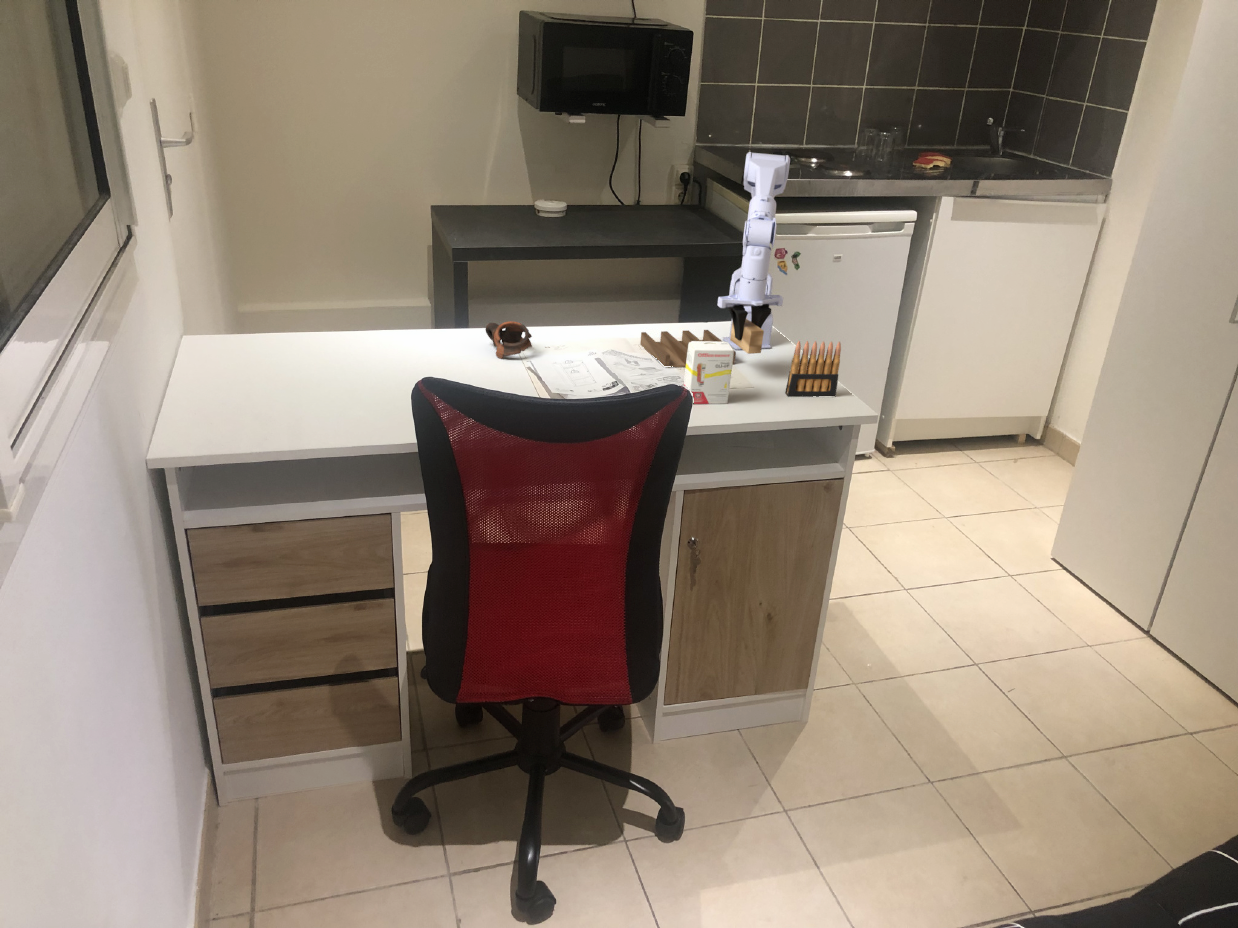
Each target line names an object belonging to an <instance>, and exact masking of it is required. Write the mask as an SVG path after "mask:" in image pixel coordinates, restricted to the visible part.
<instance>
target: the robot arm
mask: <svg viewBox="0 0 1238 928" xmlns="http://www.w3.org/2000/svg"><path fill="white" fill-rule="evenodd" d="M790 163H791V157H790V156H789V155H788V154H787V155H781V154H773V153H772V154H771V153H770V154H769V153H760V152H759V153H758V152H751V151H749V152H747V153H746V156H745V164H744V170H743V171H744V173H743V186H744V187H743V189H744V191H747V192H749V193H750V196H751V199H750V200H749V206H748V213H747V220H745V221H744V227H743V228H744V229H743V238H742V246H743V247H742V258H741V259H742V261H741V266H740V267H739V268H738V269H736V270H735V271H733V273H732V275H731V280H730V285H729V295H725V296H718V298H717V306H718V307H719V308H720V309H726V308H727V309H728V311H729V313H730V316H731V322H730V327H729V329H730V330H729V336H724V337H722V339H721V340H722V341H723V342H728V343H729V344H730V346H731V347H732V348H733V349H734V350H742V349H741V348H740V347H739V346H737V345H736V344H735V343H733V342H732V341H731V340H730V338H731V330H732V322H733V325H734V331H735V338H736V339H738V340H742V337H743V330H744V324H745V320H746V319H748V320H749V321H751V322H752V323H753V324H755V325H756V326H758V327H759V328H761V329H762V330H763V331H764V334H763V341H762V348H761V349H771V348H772V346H771V338H772V330H773V326H774V325H773V323H774V318H773V313H772V308H771V306H777V307H783V303H784V297H783V296H781V295H780V294H772V293H773V292H772V291H773V279H774V278H773V276H772V274H771V273H770V272H769V269H770V261H771V255H772V249H773V248H774V246H775V242H776V237H777V227H778V226H777V218H776V214H777V212H776V211H777V202H776V200H775V197H776V196H778V195H781V194H783V193H784V191H785V189H786V185H787V183H788V179H789V173H790V172H789V171H790ZM770 245H771V246H770Z"/></svg>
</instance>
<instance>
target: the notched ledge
mask: <svg viewBox="0 0 1238 928" xmlns="http://www.w3.org/2000/svg"><path fill="white" fill-rule="evenodd" d="M681 333H682V335H681V340H678V339H676V338H675V337H674V336H673V335H672V334H671V333H670V332H669V331H665V330H664V331H661V332H660V338H659V339H660V340H659V341H656V340H655V339H653V338H652V337H651V336H650V335H649V334H648V333H647V332H646V331H642V332H641V333H640V346H641V348H643V347H644V348H643V349H644V350H645V351H647V352H648V353H649V354H650V355H651V356H652V355H653V356H654V357H655V358H657V360H659V361H660V362H661V363H662V364H663V365H664V366H671V367H672V366H673V367H675V368H686V360H687V352H688V344H689V342H691V341H714V342H715V341H717V342H724V340H722V339H720V338H719V337H718V336H716V335H715V334H713V332H711V331H710V330H709V329H703V336H702V339H699V338H698V337H697V336H696V335H695V334H693V333H692V332H691V331H690V330H682V332H681ZM736 354H737V351H736V350H734V356H733V364H732V366H733V365H735V361H736ZM653 356H652V357H653ZM654 357H653V358H654ZM655 358H654V359H655ZM657 360H656V361H657Z"/></svg>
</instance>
